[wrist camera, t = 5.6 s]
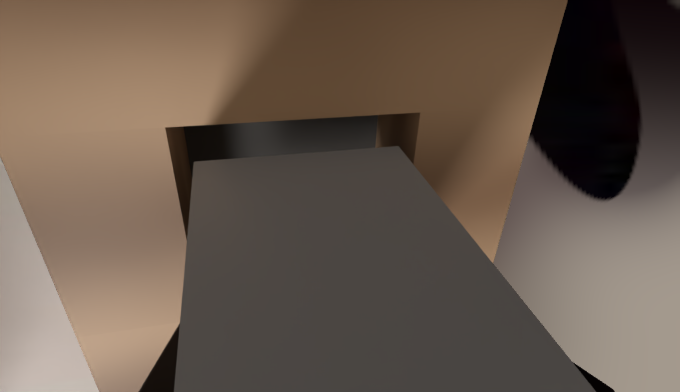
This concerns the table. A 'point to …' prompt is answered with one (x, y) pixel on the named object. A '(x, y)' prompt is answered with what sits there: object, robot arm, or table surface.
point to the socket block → (242, 126)
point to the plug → (347, 286)
